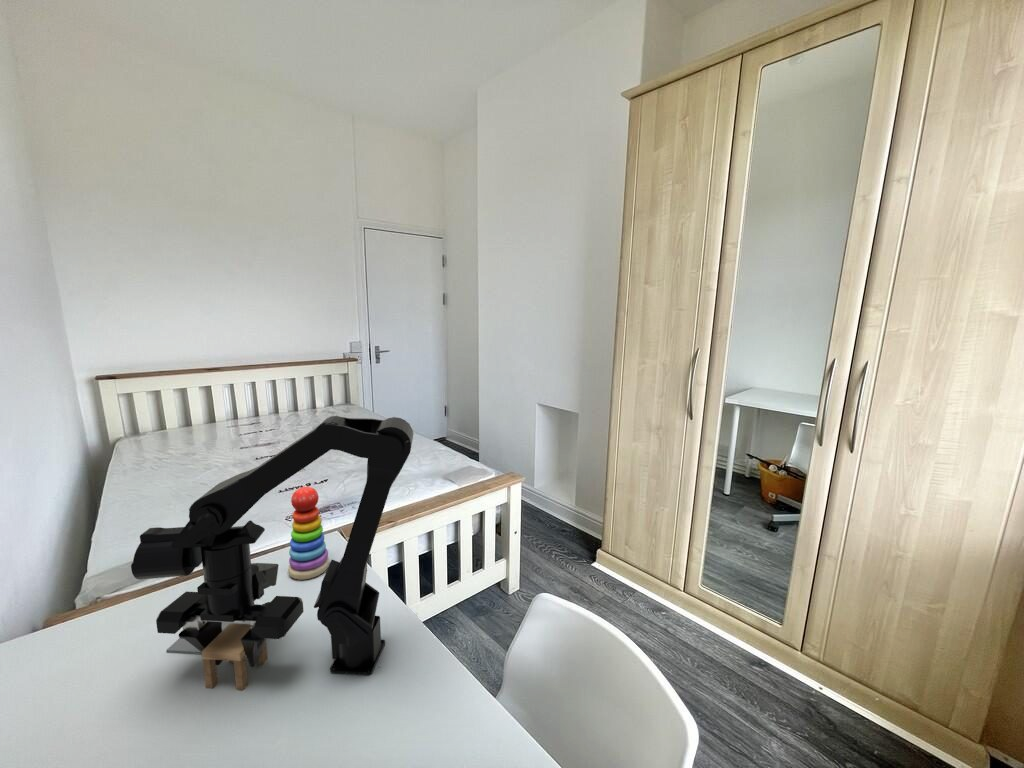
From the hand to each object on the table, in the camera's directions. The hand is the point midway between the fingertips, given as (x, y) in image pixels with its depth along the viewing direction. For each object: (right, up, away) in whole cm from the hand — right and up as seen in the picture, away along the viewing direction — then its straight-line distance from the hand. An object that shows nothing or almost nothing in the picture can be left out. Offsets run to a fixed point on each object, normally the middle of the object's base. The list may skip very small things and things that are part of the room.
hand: (237, 664), depth 63 cm
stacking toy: (-2, +2, +26) cm, 26 cm away
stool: (0, -2, 0) cm, 2 cm away
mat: (-9, 0, +8) cm, 12 cm away
